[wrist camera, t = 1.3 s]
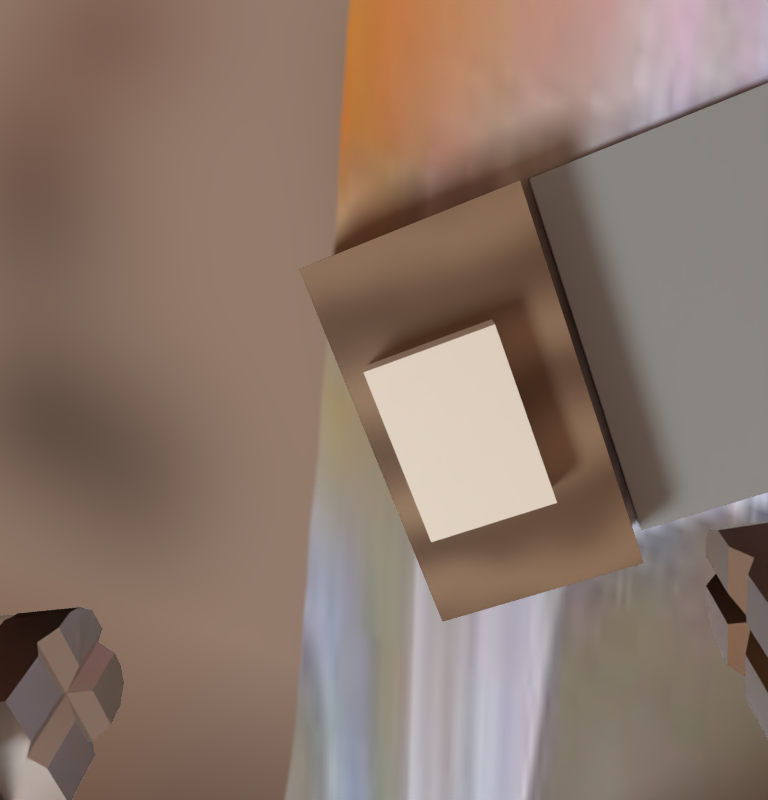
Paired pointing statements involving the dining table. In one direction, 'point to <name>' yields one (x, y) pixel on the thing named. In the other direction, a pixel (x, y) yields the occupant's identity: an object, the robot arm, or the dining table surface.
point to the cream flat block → (460, 431)
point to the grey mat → (673, 301)
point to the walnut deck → (534, 376)
